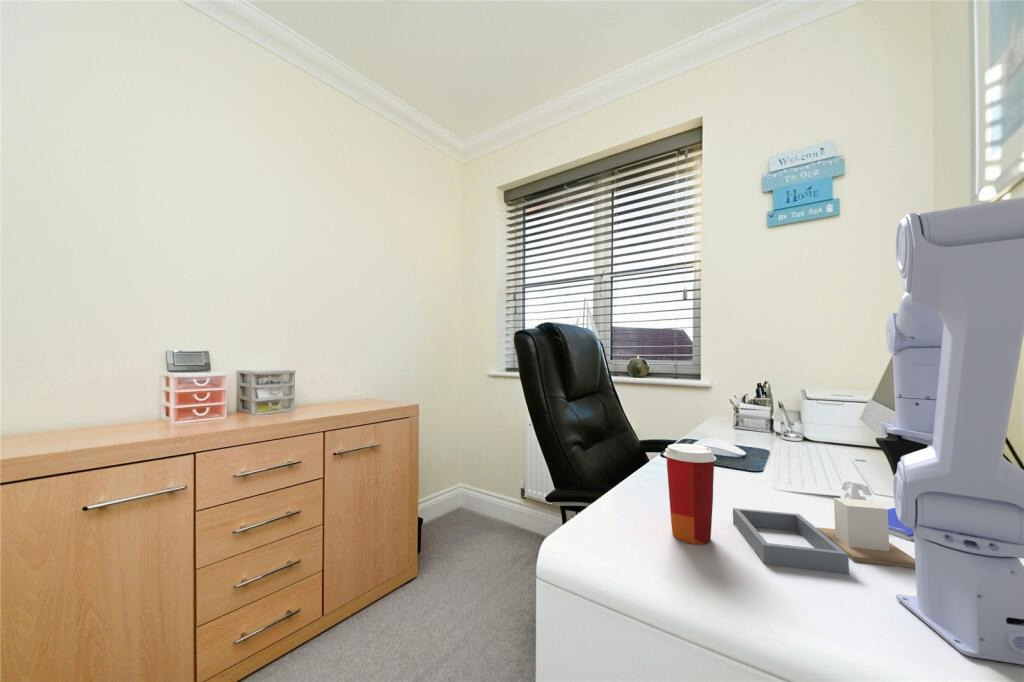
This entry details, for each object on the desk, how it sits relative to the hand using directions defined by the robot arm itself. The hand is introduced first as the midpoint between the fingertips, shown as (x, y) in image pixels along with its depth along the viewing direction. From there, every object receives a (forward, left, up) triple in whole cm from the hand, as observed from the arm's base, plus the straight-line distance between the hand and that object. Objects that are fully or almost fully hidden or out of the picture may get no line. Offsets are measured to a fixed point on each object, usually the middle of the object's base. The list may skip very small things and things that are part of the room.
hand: (927, 497), depth 53 cm
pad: (+4, +6, -9) cm, 12 cm away
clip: (+27, -5, -10) cm, 29 cm away
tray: (+2, +17, -9) cm, 20 cm away
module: (+4, +6, -9) cm, 11 cm away
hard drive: (+16, -6, -10) cm, 20 cm away
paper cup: (+1, +30, -10) cm, 32 cm away
